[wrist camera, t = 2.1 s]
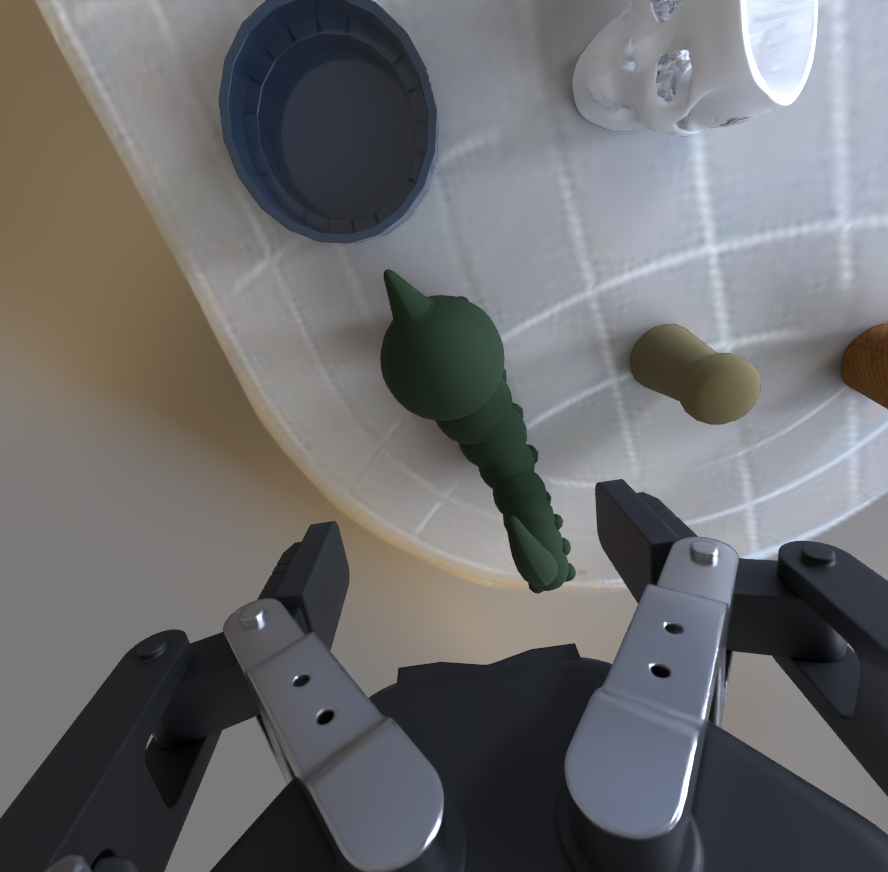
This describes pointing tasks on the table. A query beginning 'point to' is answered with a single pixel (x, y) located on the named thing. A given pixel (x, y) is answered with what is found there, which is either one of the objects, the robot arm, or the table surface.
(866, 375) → the disposable coffee cup
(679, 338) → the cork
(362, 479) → the table surface
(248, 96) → the bowl
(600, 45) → the skull bowl
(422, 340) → the toy figurine
